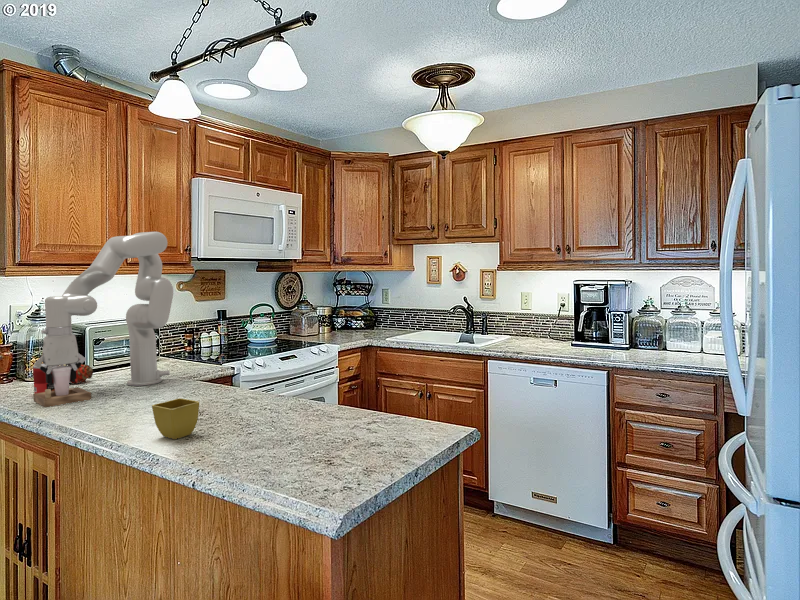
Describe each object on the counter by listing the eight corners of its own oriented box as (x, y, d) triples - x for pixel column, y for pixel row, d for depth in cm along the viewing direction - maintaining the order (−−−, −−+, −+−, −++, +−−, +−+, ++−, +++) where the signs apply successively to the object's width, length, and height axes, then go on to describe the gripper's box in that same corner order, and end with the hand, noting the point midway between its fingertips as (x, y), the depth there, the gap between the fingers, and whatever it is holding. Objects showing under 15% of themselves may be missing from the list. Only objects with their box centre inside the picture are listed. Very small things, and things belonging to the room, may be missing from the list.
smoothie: (60, 397, 185) (58, 356, 185) (46, 396, 188) (45, 355, 187) (77, 393, 191) (75, 353, 191) (63, 392, 194) (62, 353, 193)
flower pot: (172, 443, 140) (171, 408, 140) (152, 438, 145) (150, 404, 144) (201, 434, 147) (200, 401, 147) (181, 429, 152) (179, 398, 152)
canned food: (50, 396, 195) (49, 366, 195) (29, 397, 195) (27, 366, 195) (64, 392, 203) (63, 362, 202) (43, 392, 203) (41, 363, 202)
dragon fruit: (97, 384, 223) (63, 393, 215) (90, 370, 227) (58, 379, 220) (96, 370, 218) (62, 378, 211) (90, 356, 223) (56, 364, 215)
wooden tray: (78, 393, 200) (77, 378, 199) (91, 399, 190) (90, 384, 190) (33, 400, 189) (32, 385, 189) (44, 407, 180) (43, 391, 179)
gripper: (32, 335, 179) (35, 388, 180) (90, 330, 192) (92, 380, 193) (26, 333, 185) (29, 385, 186) (83, 329, 197) (85, 378, 198)
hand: (61, 382), depth 189 cm, fingers closed on smoothie, 6 cm apart
